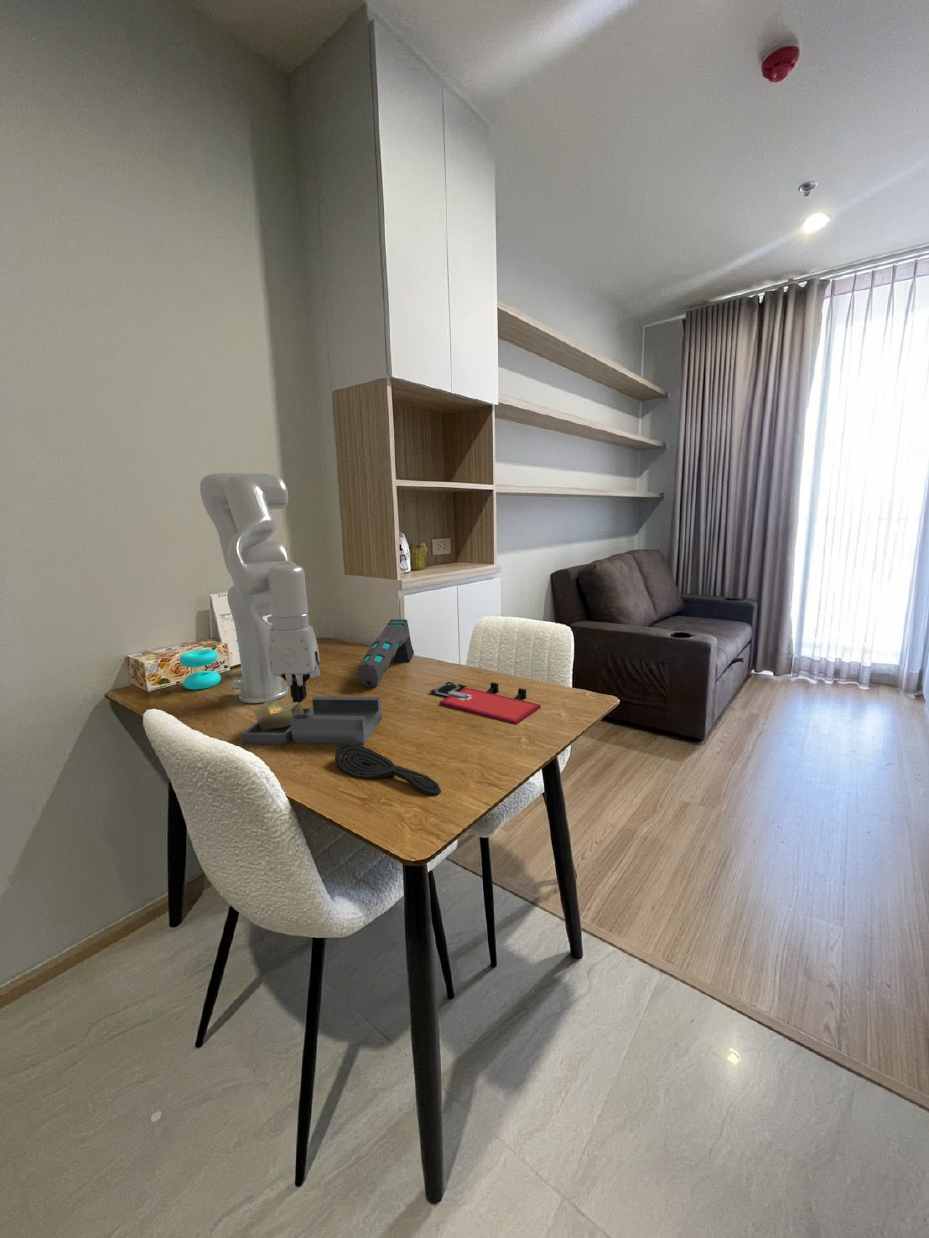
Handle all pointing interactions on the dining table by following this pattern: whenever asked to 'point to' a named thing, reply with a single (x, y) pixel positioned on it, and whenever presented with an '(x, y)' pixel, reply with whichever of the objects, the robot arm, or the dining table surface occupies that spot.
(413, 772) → the hairbrush
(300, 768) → the dining table surface
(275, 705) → the brass chip
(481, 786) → the dining table surface
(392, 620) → the gun
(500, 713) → the red board with handle
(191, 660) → the donuts
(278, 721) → the brass chip
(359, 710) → the slot block
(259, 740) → the chip tray
